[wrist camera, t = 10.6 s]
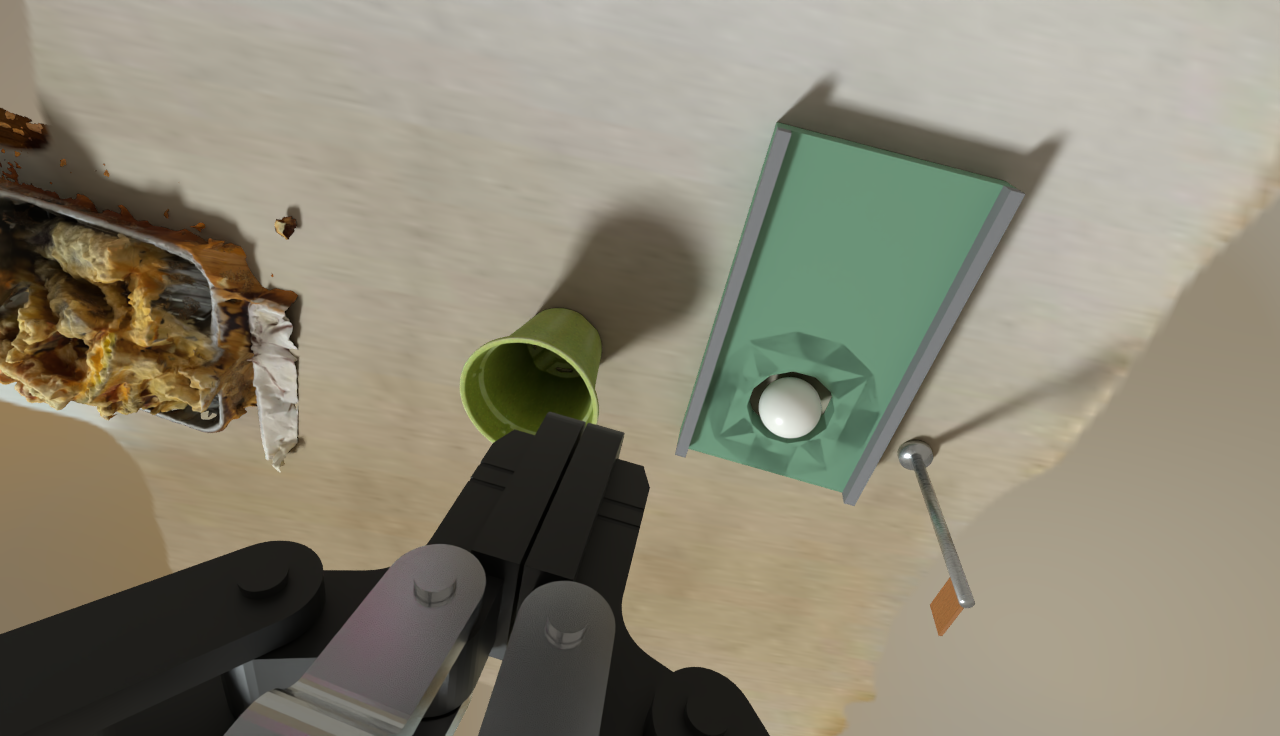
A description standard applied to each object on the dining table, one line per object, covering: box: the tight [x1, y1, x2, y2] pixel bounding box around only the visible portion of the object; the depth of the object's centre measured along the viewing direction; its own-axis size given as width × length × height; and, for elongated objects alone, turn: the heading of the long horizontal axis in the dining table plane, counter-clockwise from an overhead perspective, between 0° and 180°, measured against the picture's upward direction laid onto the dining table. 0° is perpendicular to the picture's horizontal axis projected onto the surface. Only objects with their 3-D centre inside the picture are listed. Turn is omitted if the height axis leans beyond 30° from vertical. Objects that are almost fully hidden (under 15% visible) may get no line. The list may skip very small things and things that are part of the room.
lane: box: [675, 122, 1025, 506], centre depth 41 cm, size 24×14×3 cm, turn 168°
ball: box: [759, 377, 822, 438], centre depth 44 cm, size 4×4×4 cm
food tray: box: [0, 108, 298, 472], centre depth 48 cm, size 35×26×11 cm
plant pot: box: [460, 308, 602, 443], centre depth 43 cm, size 9×9×9 cm
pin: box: [898, 440, 975, 636], centre depth 41 cm, size 4×2×14 cm, turn 168°
